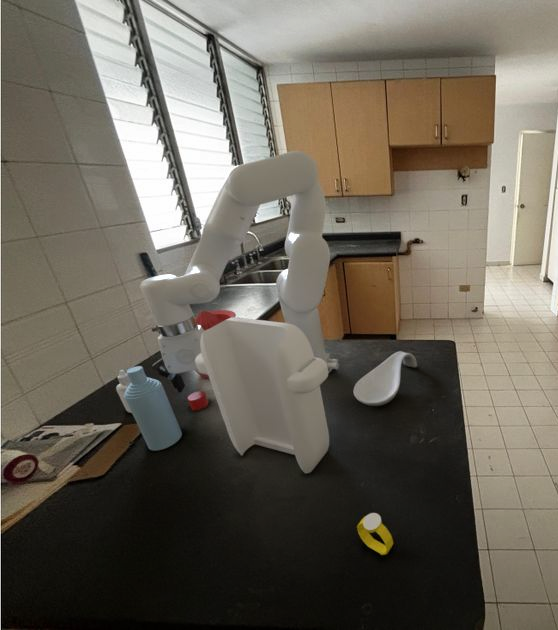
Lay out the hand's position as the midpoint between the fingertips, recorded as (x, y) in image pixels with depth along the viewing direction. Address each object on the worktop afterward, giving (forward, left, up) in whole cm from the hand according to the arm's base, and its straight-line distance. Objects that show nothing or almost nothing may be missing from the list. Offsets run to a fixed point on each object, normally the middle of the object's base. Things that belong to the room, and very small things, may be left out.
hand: (202, 384), depth 88 cm
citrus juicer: (+9, -15, -6) cm, 19 cm away
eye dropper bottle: (+16, +6, -6) cm, 18 cm away
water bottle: (-1, +14, -5) cm, 15 cm away
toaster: (-31, +12, -6) cm, 33 cm away
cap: (+1, +2, -5) cm, 6 cm away
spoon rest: (-47, -13, -6) cm, 49 cm away
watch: (-57, +29, -6) cm, 64 cm away
